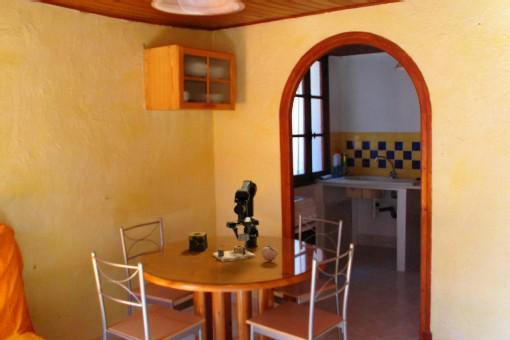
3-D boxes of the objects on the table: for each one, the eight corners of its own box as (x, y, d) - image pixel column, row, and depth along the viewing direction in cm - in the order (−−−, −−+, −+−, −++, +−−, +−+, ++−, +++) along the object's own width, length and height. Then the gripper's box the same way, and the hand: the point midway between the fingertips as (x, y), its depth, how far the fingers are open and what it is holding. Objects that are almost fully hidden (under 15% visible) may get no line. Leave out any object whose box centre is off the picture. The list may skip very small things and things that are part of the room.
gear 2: (241, 249, 300) (240, 244, 299) (247, 251, 294) (247, 246, 294) (231, 251, 296) (231, 246, 295) (237, 253, 290) (237, 248, 290)
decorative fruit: (258, 261, 277) (258, 244, 276) (269, 259, 282) (269, 241, 281) (268, 265, 270) (268, 247, 269) (280, 262, 275) (280, 244, 274)
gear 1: (246, 238, 292) (246, 233, 292) (250, 240, 286) (250, 235, 286) (235, 239, 289) (235, 234, 289) (239, 241, 283) (239, 236, 283)
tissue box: (208, 247, 313) (207, 231, 312) (204, 251, 303) (204, 235, 302) (192, 247, 314) (191, 231, 313) (188, 251, 304) (188, 235, 303)
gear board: (244, 251, 301) (243, 243, 301) (254, 257, 287) (254, 248, 286) (213, 255, 293) (213, 247, 292) (222, 261, 278) (222, 253, 278)
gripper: (232, 215, 275) (233, 242, 276) (262, 212, 283) (263, 239, 284) (225, 212, 285) (226, 238, 287) (254, 209, 293) (255, 235, 294)
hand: (243, 238), depth 287 cm, fingers closed on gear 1, 7 cm apart
